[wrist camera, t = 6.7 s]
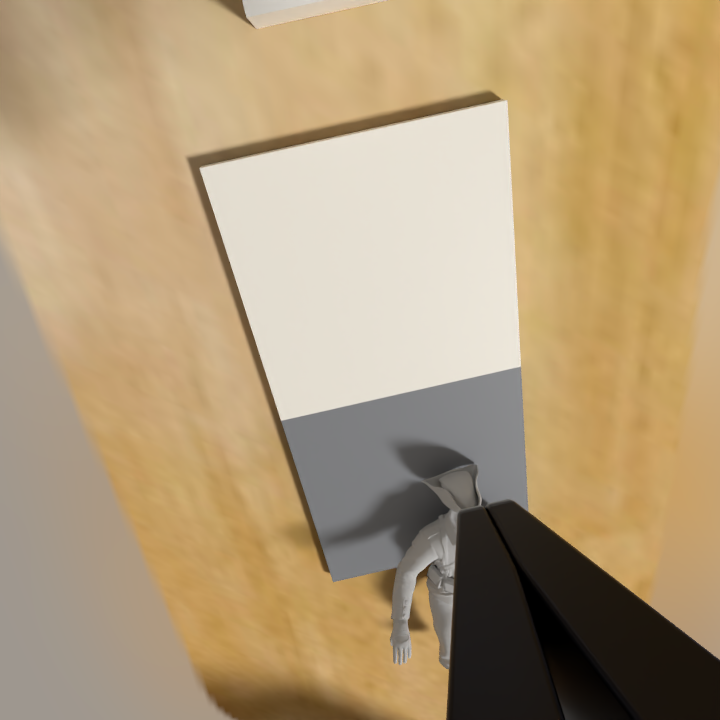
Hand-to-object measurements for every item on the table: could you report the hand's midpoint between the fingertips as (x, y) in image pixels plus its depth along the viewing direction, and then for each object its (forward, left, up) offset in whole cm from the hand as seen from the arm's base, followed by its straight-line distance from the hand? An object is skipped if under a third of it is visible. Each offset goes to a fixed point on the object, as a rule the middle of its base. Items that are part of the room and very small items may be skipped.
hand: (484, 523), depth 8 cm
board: (-4, 0, -11) cm, 12 cm away
